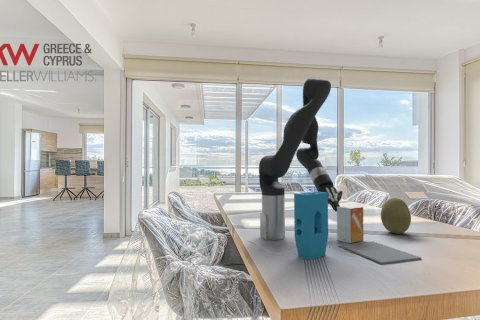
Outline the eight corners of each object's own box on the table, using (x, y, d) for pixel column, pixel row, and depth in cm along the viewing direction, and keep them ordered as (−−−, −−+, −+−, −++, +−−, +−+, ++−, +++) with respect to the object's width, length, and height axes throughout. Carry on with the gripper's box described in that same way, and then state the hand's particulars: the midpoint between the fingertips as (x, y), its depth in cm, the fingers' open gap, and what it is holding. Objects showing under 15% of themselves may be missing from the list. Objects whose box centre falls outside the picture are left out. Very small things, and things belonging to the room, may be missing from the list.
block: (306, 261, 88) (305, 195, 89) (293, 257, 92) (292, 193, 93) (329, 253, 96) (329, 192, 96) (317, 250, 100) (316, 191, 100)
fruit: (377, 233, 124) (376, 198, 124) (385, 229, 132) (385, 195, 132) (407, 237, 116) (406, 200, 116) (414, 232, 124) (413, 197, 125)
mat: (381, 264, 85) (381, 262, 85) (338, 246, 104) (338, 244, 104) (421, 259, 89) (421, 257, 89) (373, 243, 108) (373, 241, 108)
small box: (350, 243, 108) (350, 208, 108) (336, 240, 113) (336, 206, 113) (364, 240, 112) (363, 206, 112) (349, 237, 117) (349, 204, 118)
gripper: (311, 173, 127) (327, 205, 115) (337, 173, 131) (355, 204, 119) (305, 185, 132) (320, 216, 120) (330, 184, 136) (347, 215, 124)
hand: (338, 210), depth 120 cm, fingers closed
